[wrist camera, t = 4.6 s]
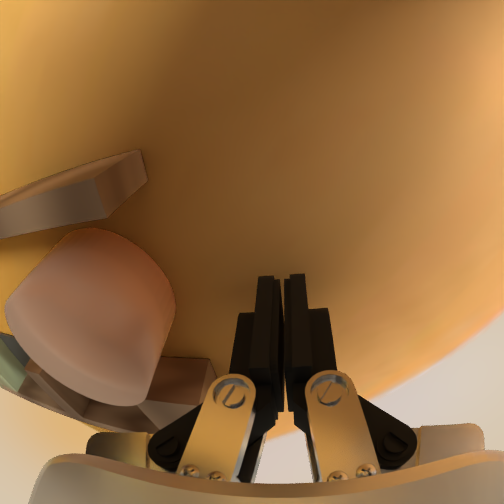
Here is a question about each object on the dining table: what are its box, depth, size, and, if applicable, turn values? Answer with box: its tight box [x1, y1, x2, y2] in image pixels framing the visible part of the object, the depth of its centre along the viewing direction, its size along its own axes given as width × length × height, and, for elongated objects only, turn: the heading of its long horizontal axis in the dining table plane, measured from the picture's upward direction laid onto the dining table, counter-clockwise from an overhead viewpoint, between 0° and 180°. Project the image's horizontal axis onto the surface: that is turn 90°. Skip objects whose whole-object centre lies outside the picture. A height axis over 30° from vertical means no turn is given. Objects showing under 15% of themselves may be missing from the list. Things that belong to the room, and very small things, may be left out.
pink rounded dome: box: [5, 228, 176, 406], centre depth 11 cm, size 7×7×4 cm
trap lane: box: [0, 149, 217, 434], centre depth 15 cm, size 27×18×3 cm
